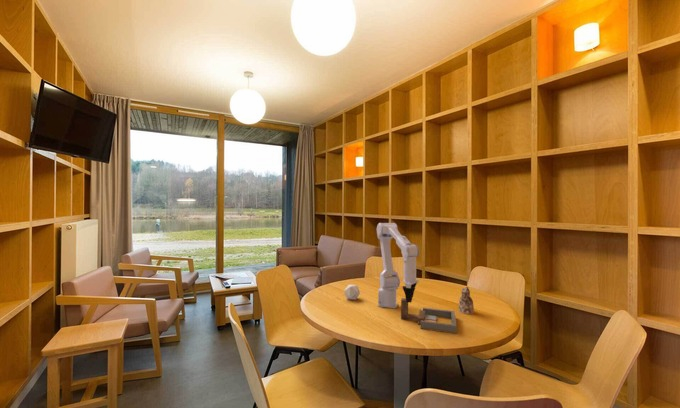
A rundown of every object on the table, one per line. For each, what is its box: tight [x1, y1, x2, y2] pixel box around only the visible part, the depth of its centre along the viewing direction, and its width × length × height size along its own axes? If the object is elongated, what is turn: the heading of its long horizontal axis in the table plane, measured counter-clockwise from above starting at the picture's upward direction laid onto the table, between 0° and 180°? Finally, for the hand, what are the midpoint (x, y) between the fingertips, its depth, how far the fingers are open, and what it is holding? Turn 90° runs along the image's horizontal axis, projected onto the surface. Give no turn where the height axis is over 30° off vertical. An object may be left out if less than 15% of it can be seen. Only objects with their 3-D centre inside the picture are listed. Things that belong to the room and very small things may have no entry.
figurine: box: [457, 286, 475, 315], centre depth 149 cm, size 7×7×12 cm
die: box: [343, 284, 361, 301], centre depth 168 cm, size 8×9×10 cm
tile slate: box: [424, 315, 437, 322], centre depth 138 cm, size 5×5×2 cm
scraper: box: [400, 297, 425, 326], centre depth 138 cm, size 10×11×9 cm
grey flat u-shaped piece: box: [420, 307, 458, 334], centre depth 134 cm, size 14×19×3 cm
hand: (409, 299), depth 138 cm, fingers open, 7 cm apart
